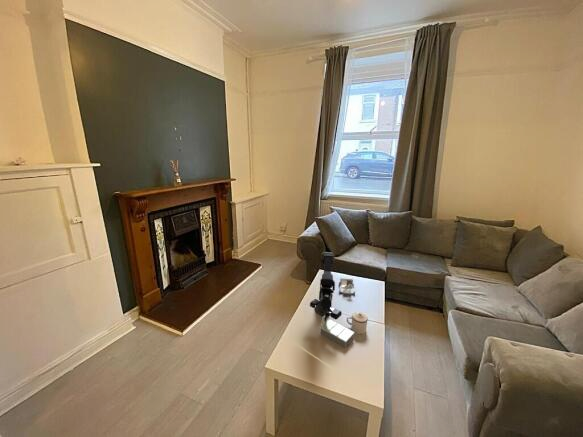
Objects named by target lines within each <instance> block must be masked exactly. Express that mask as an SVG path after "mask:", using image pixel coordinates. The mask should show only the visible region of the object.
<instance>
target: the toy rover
mask: <svg viewBox="0 0 583 437" xmlns="http://www.w3.org/2000/svg"><path fill="white" fill-rule="evenodd" d="M354 285H355V283H354V279H353V278H347V277H340V279H339V282H338V286H339V290H338V294H339V295H341V294H343V295H353V296H354V297H355V296H356V291H354V287H355V286H354Z"/></svg>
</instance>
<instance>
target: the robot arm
mask: <svg viewBox="0 0 583 437" xmlns="http://www.w3.org/2000/svg"><path fill="white" fill-rule="evenodd" d="M335 257H336V256H335V254H334V253H333V252H329V251H323V252H322V253H321V256H320V258H321V260H322V261H321V262H322V264H323V274H321V278H320V280H319V281H320V282H319V283H320V284H319V292H318V298H317V299H316V298H314V299H313V300H311V301H310V303H309V307H310V308H312V309H313V310H314V314H316V315H318V316H320V317H321V318H322V317H323V316H324V315H325V322H326V321H328V320H329V318H332V319H334V320H338V319H339V318H340V317H341V316H342V314H343V313H342V311H341V310H339V309H337V308H332V305H333V304H332V301H333V295H334V293H335V292H334V291H335V290H336V281H335V280H334V276H333V274H332V265H333V262H334V261H335Z"/></svg>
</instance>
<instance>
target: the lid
mask: <svg viewBox="0 0 583 437" xmlns="http://www.w3.org/2000/svg"><path fill="white" fill-rule="evenodd" d="M319 328H320V330H321V329H323V330H324V331H326V332H328V333H330V334H332V335H333V336H335V337H337V338H339V339H340V340H342V341H344V342H347V341H348V340H349V339H350V338H351V337H352V335H353V334H354V335H355V332H353V331H352V329H350V328H347V327H345V326H343V325H342V324H339V323H338V322H336V321H334V320H332V319H329V318H328V319H327V321H326V322H325V315H324V316H323V317H321V326H320V327H319ZM354 335H353V336H354Z"/></svg>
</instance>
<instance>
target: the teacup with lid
mask: <svg viewBox="0 0 583 437" xmlns="http://www.w3.org/2000/svg"><path fill="white" fill-rule="evenodd" d="M349 319H350V320H351V322H350V321H349ZM368 321H369V319H368V316H367V315H366V314H365V313H364V312H361V311H357V312H354V313H352V315H351V316H348V317H347V318H346V322H347V324H348V325H350V327H351V328H350V330H351V331H353V332H354V334H358V335H364V334H365V333H366V332H367V327H368V326H367V324H368Z"/></svg>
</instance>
